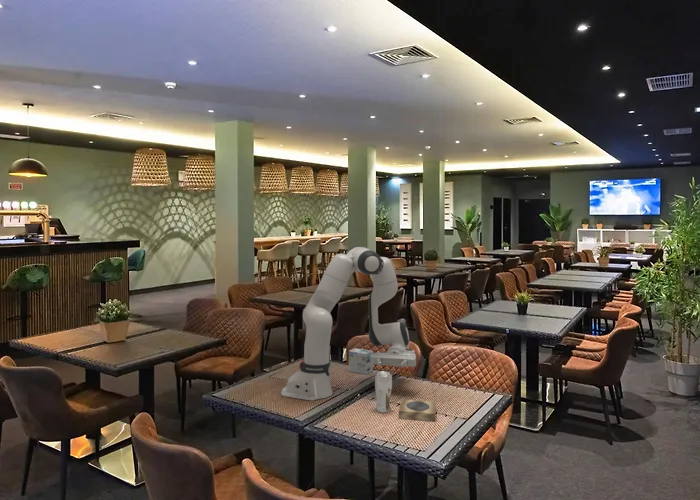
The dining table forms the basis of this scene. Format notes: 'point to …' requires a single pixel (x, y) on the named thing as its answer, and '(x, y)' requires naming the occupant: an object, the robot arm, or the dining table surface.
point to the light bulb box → (360, 361)
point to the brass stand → (417, 410)
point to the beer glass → (383, 391)
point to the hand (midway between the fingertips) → (390, 364)
